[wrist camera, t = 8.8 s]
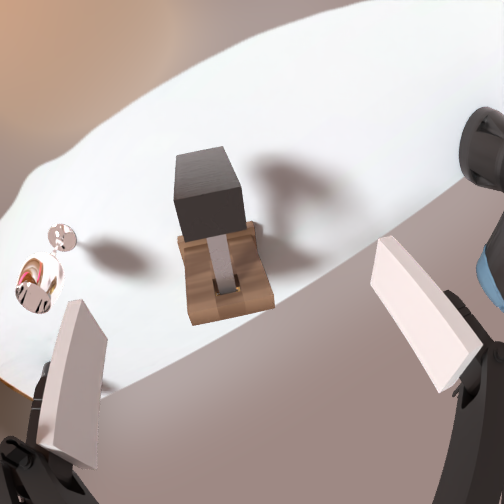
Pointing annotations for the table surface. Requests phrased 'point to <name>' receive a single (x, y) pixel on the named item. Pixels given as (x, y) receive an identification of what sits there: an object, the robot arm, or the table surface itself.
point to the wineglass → (44, 272)
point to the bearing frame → (245, 275)
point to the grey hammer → (210, 206)
